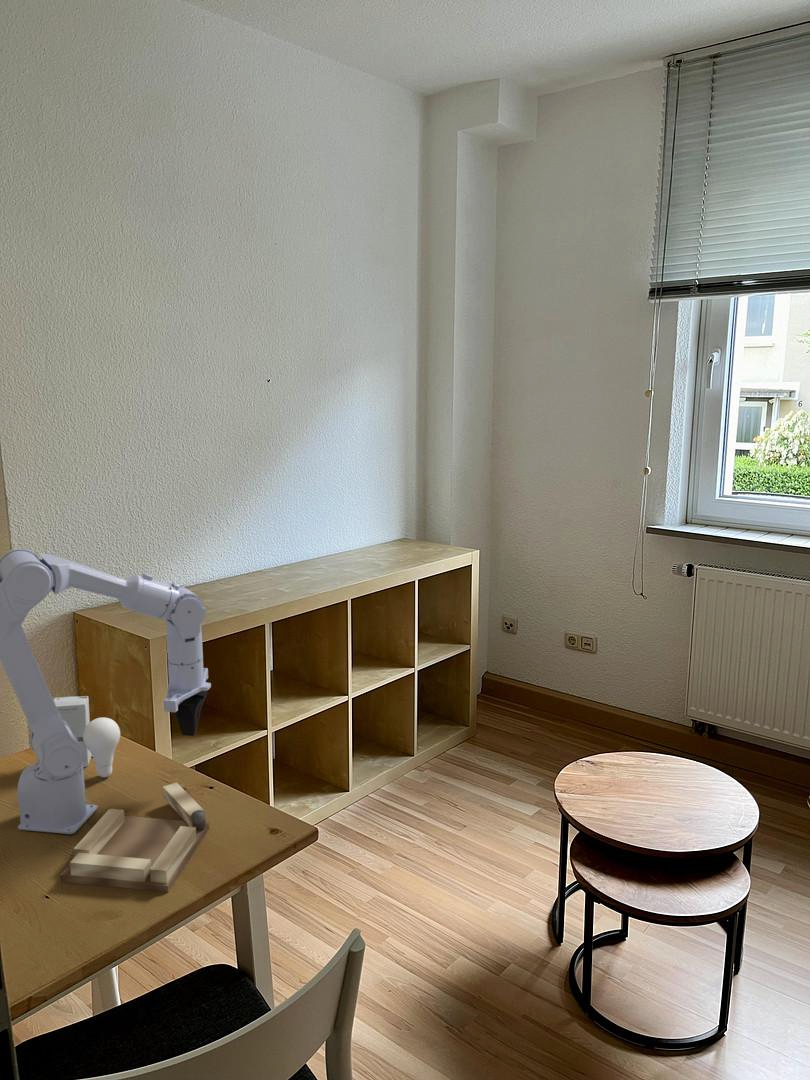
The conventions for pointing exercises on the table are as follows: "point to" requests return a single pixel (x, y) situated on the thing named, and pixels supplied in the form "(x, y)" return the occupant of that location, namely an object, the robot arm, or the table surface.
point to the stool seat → (133, 852)
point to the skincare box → (76, 718)
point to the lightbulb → (102, 743)
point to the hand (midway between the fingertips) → (189, 733)
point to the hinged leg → (185, 805)
